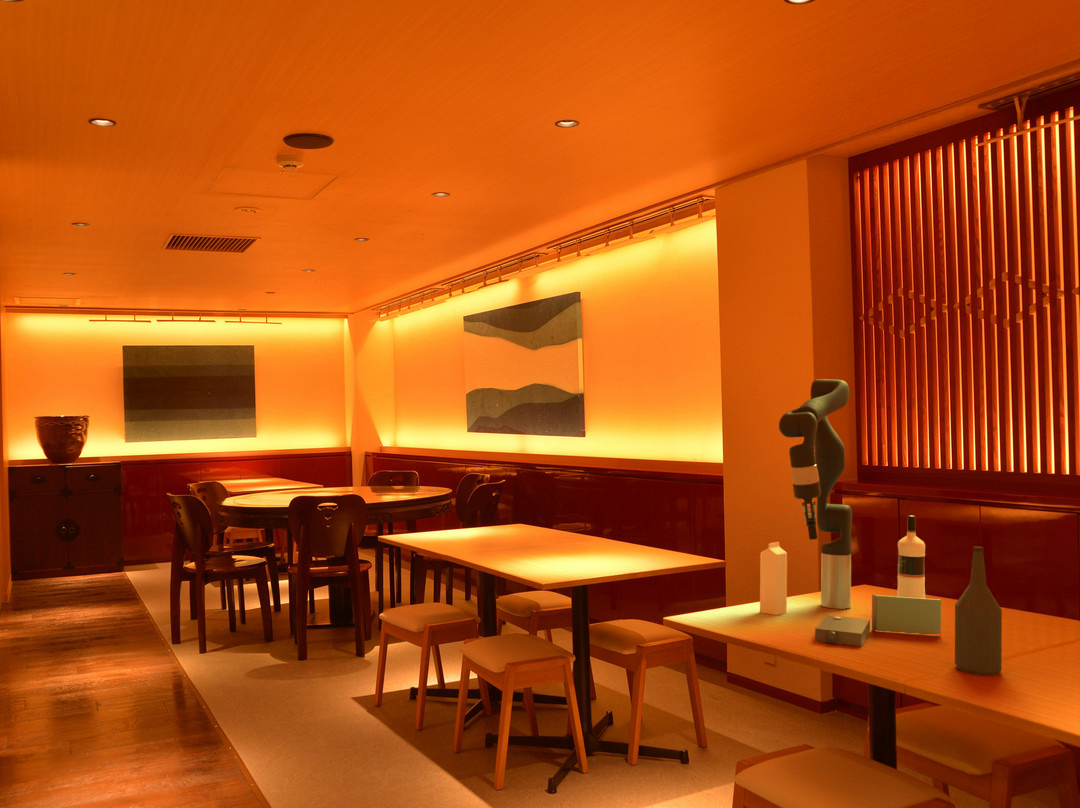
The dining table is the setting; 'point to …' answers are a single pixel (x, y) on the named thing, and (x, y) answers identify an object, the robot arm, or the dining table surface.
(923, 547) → the vodka
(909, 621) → the door
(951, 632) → the dining table surface
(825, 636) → the box with round knob
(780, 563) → the milk
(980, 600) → the bottle
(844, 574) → the robot arm
